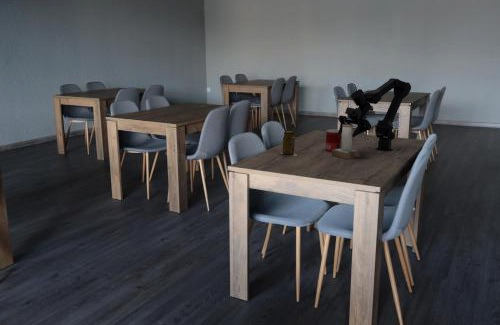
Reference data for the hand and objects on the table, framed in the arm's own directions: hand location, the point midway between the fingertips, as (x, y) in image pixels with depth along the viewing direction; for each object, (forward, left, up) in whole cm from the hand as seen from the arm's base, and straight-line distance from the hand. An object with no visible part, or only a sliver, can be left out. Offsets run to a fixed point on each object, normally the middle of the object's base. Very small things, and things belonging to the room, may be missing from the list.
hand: (345, 135), depth 233 cm
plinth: (-1, 0, -11) cm, 11 cm away
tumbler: (-1, 0, -8) cm, 8 cm away
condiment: (+24, -15, -11) cm, 31 cm away
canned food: (-3, -14, -11) cm, 18 cm away
